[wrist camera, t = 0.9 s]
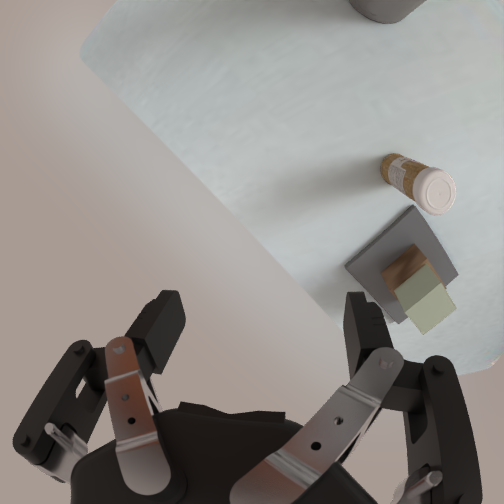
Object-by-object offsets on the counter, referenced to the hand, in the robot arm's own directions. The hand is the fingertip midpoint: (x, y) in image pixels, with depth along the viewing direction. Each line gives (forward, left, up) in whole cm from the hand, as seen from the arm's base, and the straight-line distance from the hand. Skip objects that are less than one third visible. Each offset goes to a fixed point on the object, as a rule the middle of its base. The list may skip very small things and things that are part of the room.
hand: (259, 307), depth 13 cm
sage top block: (-5, +23, -21) cm, 32 cm away
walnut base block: (-5, +23, -26) cm, 35 cm away
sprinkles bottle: (-13, +9, -27) cm, 32 cm away
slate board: (-5, +23, -27) cm, 36 cm away
